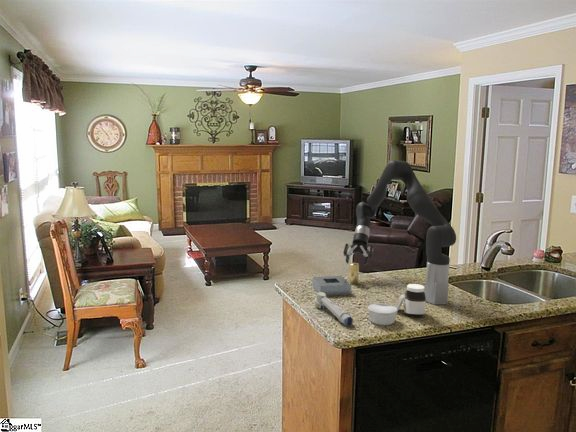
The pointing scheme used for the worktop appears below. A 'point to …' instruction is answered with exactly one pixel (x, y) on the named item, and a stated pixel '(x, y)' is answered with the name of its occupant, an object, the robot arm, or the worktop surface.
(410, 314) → the spread jar
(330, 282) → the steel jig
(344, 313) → the grey blue-tipped handle
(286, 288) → the worktop surface
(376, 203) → the robot arm
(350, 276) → the brass bushing
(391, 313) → the ramekin
